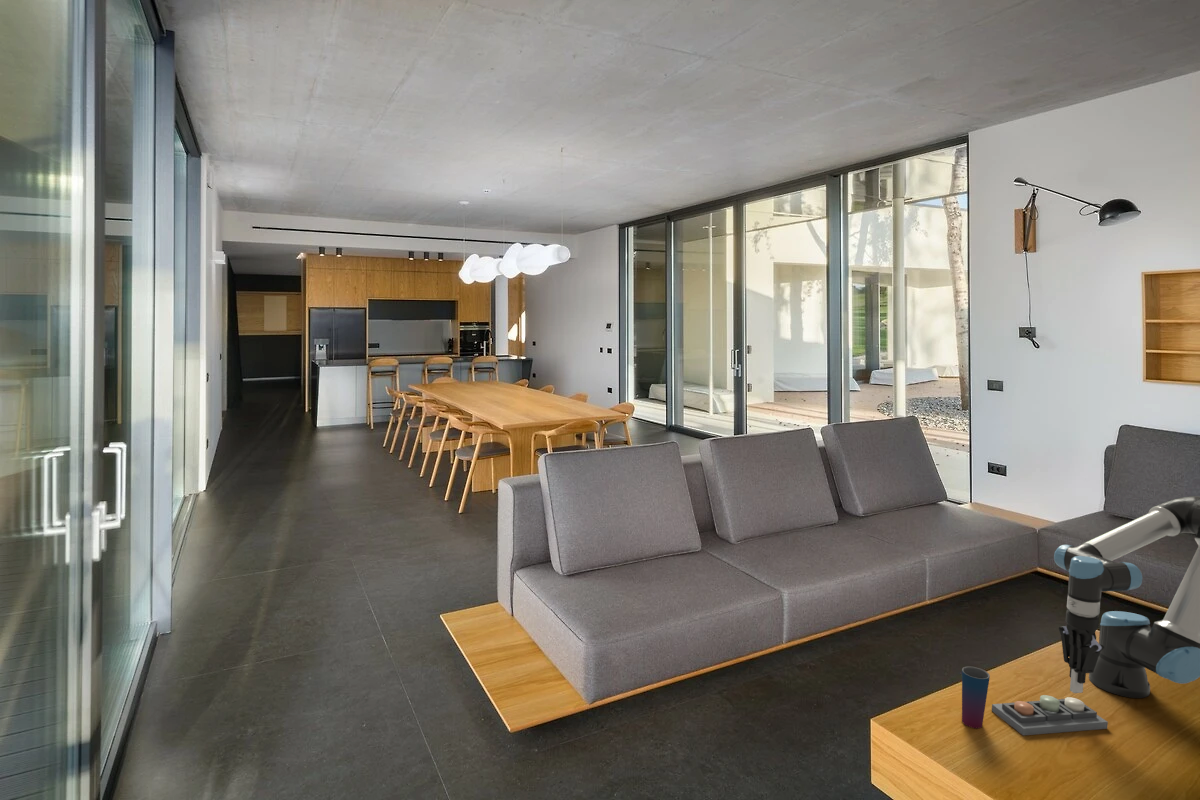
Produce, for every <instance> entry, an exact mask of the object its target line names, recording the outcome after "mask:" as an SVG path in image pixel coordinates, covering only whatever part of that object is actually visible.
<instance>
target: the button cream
mask: <svg viewBox="0 0 1200 800" xmlns="http://www.w3.org/2000/svg"><path fill="white" fill-rule="evenodd" d="M1064 699H1065V703H1064V706H1066V707H1067V708H1069V709H1070V710H1072V711H1073V712H1080V711H1084V705H1086V704H1085V702H1083V701H1082V700H1080V699H1078V698H1076V697H1071V696H1067V697H1065V698H1064Z"/></svg>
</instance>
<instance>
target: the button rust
mask: <svg viewBox="0 0 1200 800" xmlns="http://www.w3.org/2000/svg"><path fill="white" fill-rule="evenodd" d="M1027 702H1028V701H1023V700H1022V701H1021V700H1016V701H1014V703H1015V704H1014V710H1015V711H1017V712H1018V713H1019V714H1021V715H1022V716H1028V715H1033V711H1034V707H1033V706H1032V705H1031V704H1029V703H1027Z"/></svg>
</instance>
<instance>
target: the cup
mask: <svg viewBox="0 0 1200 800" xmlns="http://www.w3.org/2000/svg"><path fill="white" fill-rule="evenodd" d="M990 677H991V675H990V673H988V672H987V671H986V670H984V669H982V668H979V667H975V666H964V667H962V669H961V722H962V724H964V725H965V726H966V727H969V728H973V729H980V728H982V727H983V723H984V717H985V709H986V704H987V697H988V690H989V684H990V679H991V678H990Z"/></svg>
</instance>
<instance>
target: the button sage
mask: <svg viewBox="0 0 1200 800" xmlns="http://www.w3.org/2000/svg"><path fill="white" fill-rule="evenodd" d="M1058 699H1059V698H1056V697H1054V696H1052V695H1046V694H1043V695H1040V696H1039V701H1040V707H1041V708H1043V709H1044V710H1047V711H1050V712H1058V711H1059V704H1060V701H1059V700H1058Z"/></svg>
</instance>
